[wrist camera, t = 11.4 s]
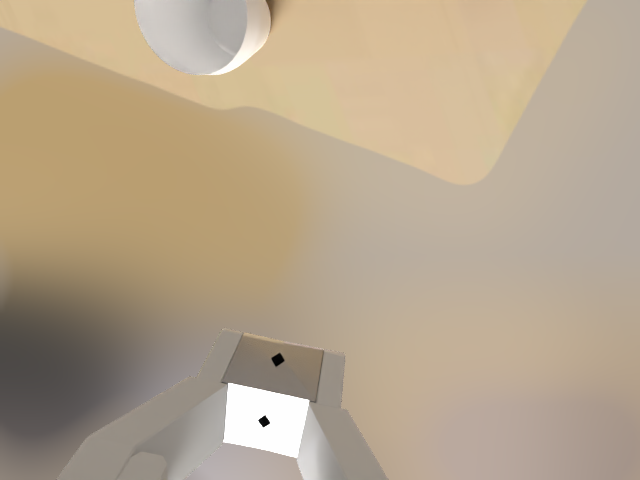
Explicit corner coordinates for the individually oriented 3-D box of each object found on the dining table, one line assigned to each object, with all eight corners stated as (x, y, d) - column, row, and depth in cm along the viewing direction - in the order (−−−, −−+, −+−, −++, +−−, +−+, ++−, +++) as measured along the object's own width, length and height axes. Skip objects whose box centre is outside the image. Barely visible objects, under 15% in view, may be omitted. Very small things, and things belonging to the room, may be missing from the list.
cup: (247, 87, 43) (205, 102, 32) (179, 23, 41) (110, 17, 30) (301, 15, 39) (274, 6, 28) (229, -58, 37) (171, -99, 26)
